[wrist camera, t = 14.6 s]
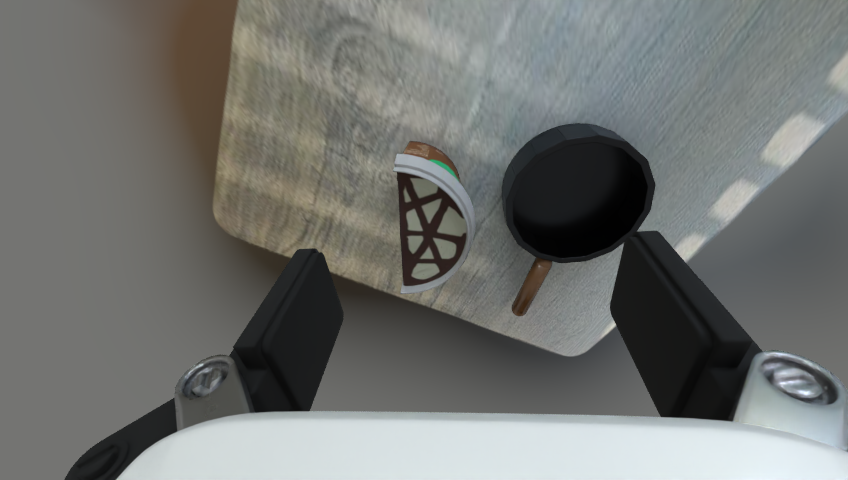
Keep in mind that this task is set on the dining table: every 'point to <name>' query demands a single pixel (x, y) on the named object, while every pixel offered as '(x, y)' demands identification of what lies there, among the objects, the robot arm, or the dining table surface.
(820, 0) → the dining table surface
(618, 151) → the pan
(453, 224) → the food container
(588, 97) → the dining table surface
